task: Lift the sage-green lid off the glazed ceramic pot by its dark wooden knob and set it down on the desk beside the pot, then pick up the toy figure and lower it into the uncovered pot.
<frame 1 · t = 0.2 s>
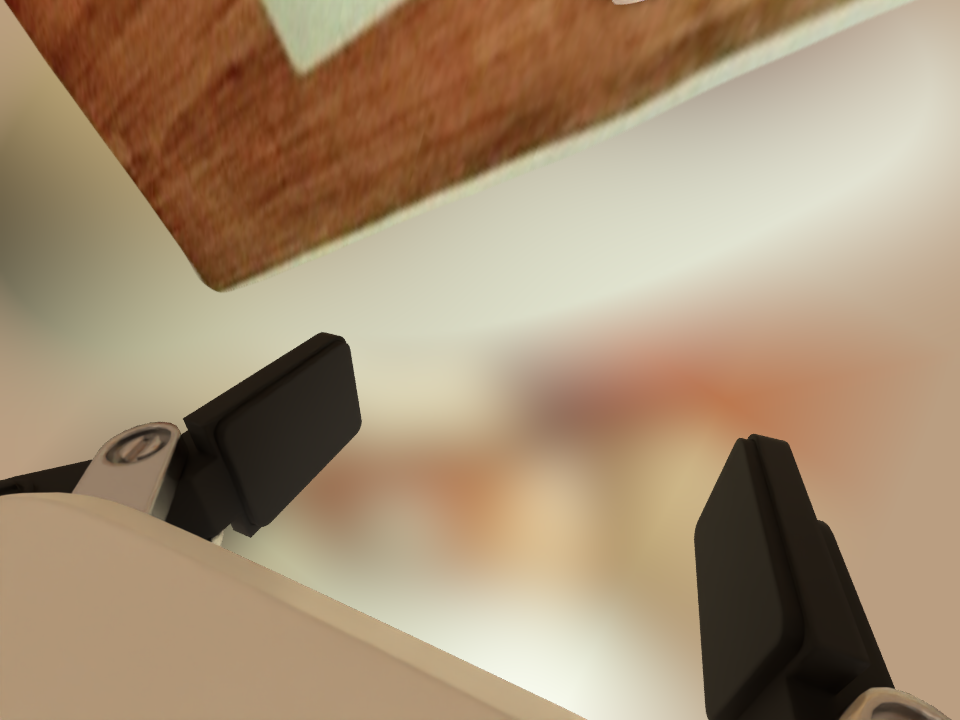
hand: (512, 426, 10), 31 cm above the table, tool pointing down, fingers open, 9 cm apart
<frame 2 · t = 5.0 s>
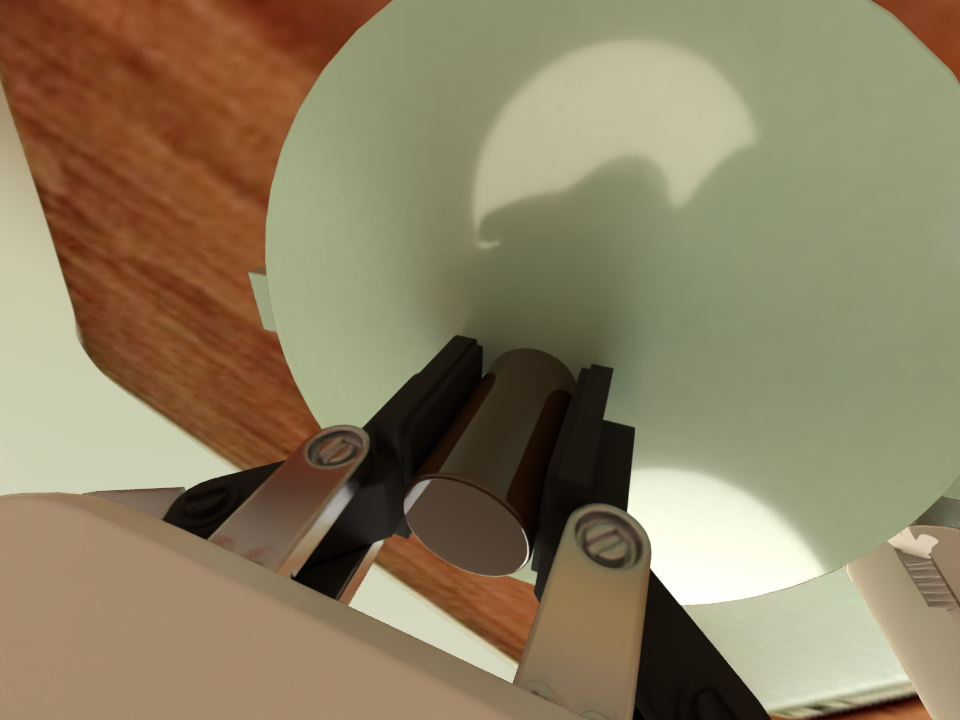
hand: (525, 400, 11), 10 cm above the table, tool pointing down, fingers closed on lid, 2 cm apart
pot: (584, 281, 19), on the table
lid: (537, 377, 12), point 9 cm above the table, touching gripper, pot
toy figure: (905, 522, 19), on the table
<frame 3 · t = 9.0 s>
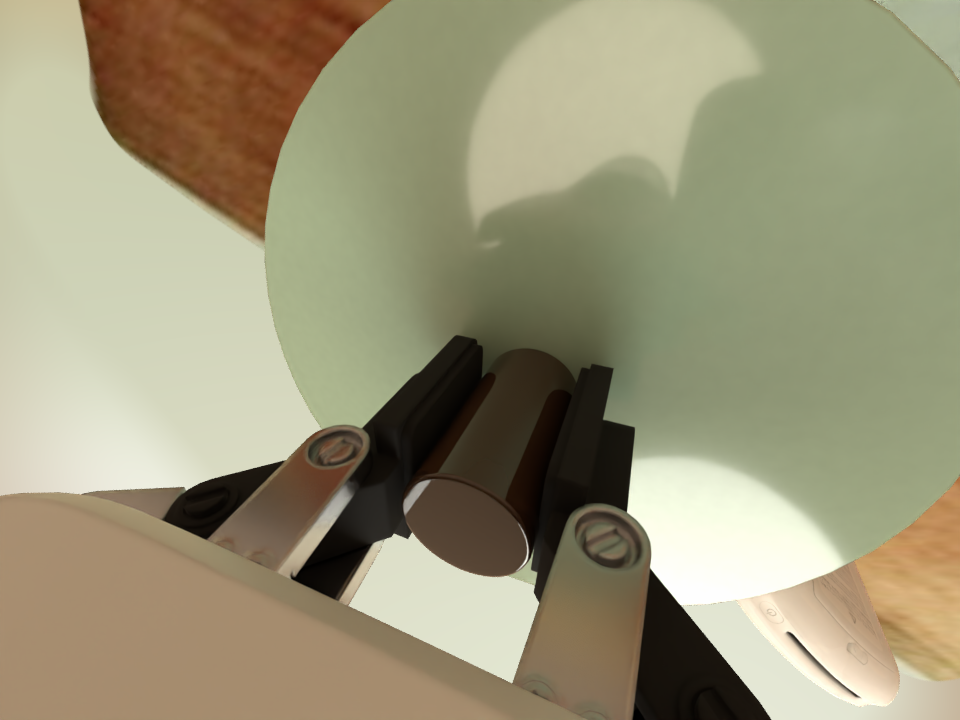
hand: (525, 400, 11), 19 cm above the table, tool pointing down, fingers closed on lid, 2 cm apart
photo printer: (771, 488, 31), on the table
lid: (536, 377, 12), point 18 cm above the table, touching gripper
when the fingers open (2 cm above the table, at t = 12.8 s): lid stays where it is, point 1 cm above the table.
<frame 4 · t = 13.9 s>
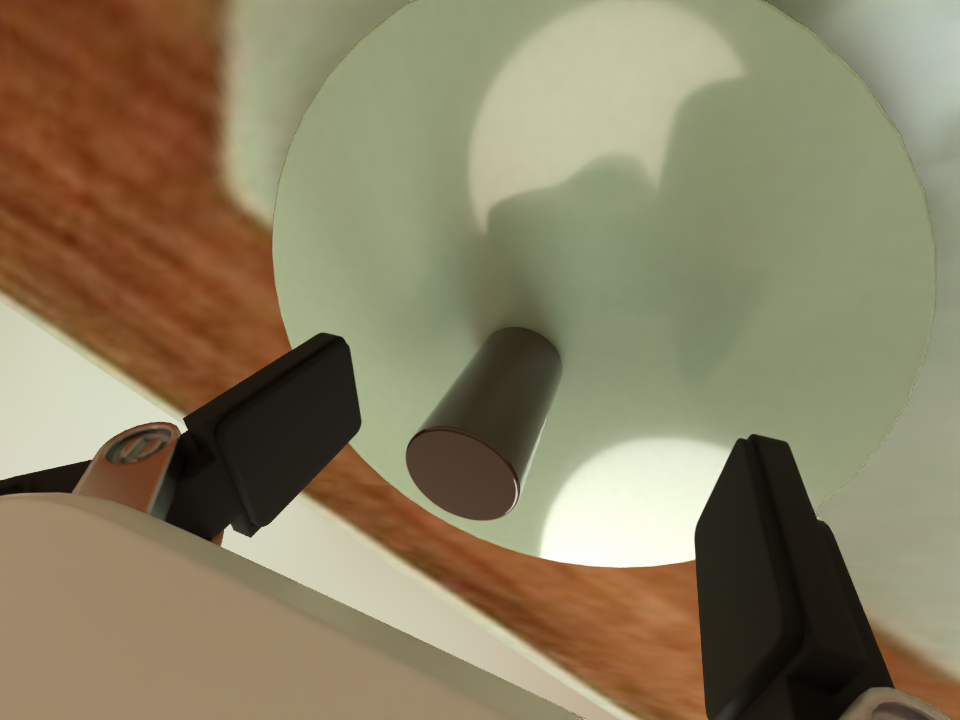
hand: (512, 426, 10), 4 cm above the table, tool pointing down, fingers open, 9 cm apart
lid: (525, 355, 13), point 1 cm above the table
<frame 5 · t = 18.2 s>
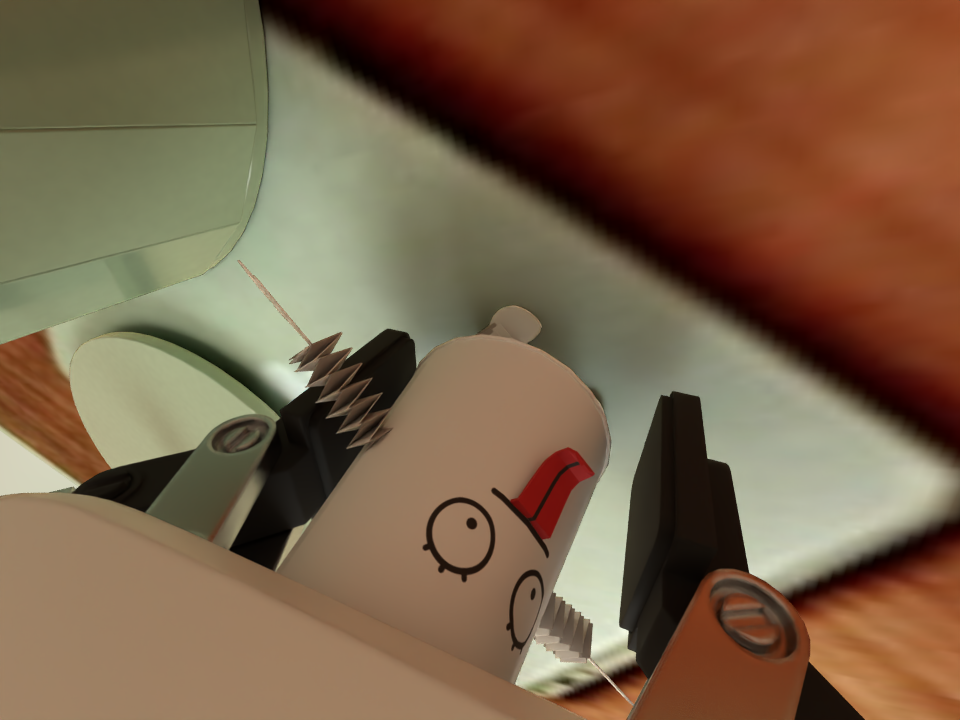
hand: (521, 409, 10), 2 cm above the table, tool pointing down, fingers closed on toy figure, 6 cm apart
lid: (219, 485, 22), point 1 cm above the table
toy figure: (536, 373, 12), on the table, touching gripper
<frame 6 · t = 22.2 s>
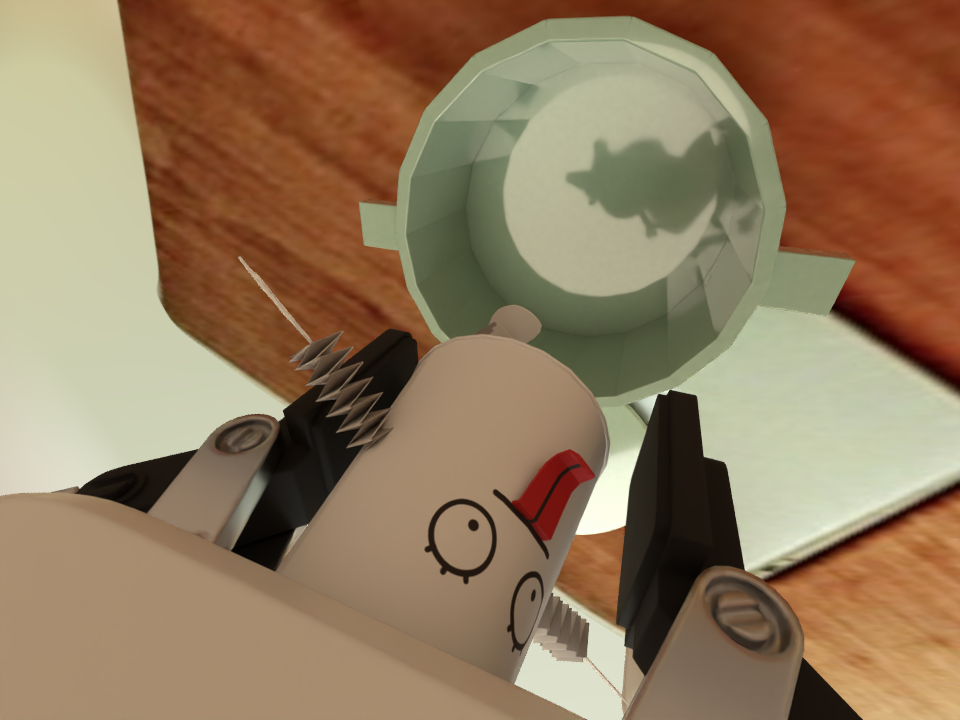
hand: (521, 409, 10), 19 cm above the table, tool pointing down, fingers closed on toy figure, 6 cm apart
pot: (585, 218, 26), on the table
photo printer: (676, 616, 41), on the table
lid: (546, 455, 36), point 1 cm above the table
toy figure: (535, 373, 12), point 17 cm above the table, touching gripper
when the fingers open (4 cm above the table, at t = 26.2 s): toy figure drops 2 cm, resting on pot.
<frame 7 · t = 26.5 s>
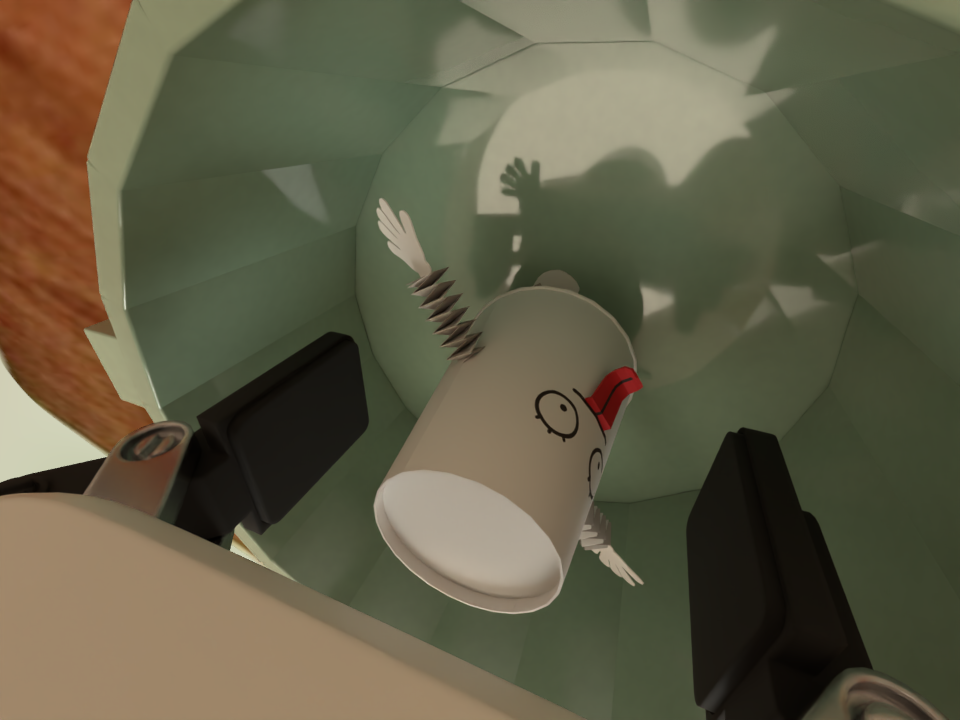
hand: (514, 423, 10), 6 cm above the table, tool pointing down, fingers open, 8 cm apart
pot: (555, 325, 14), on the table
toy figure: (566, 331, 14), resting on pot
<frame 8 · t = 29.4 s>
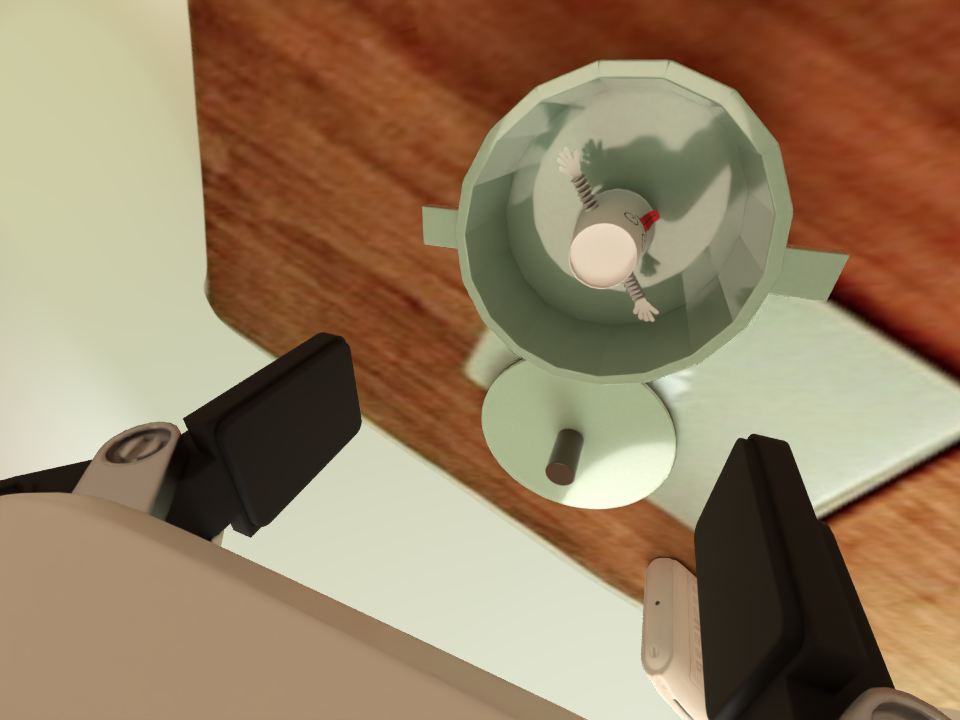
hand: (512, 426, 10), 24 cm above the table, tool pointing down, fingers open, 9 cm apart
pot: (614, 220, 29), on the table
photo printer: (688, 585, 44), on the table
lid: (571, 435, 39), point 1 cm above the table
toy figure: (620, 221, 29), resting on pot
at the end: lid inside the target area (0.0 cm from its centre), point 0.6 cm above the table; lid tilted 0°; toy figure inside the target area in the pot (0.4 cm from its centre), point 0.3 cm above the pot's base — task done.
